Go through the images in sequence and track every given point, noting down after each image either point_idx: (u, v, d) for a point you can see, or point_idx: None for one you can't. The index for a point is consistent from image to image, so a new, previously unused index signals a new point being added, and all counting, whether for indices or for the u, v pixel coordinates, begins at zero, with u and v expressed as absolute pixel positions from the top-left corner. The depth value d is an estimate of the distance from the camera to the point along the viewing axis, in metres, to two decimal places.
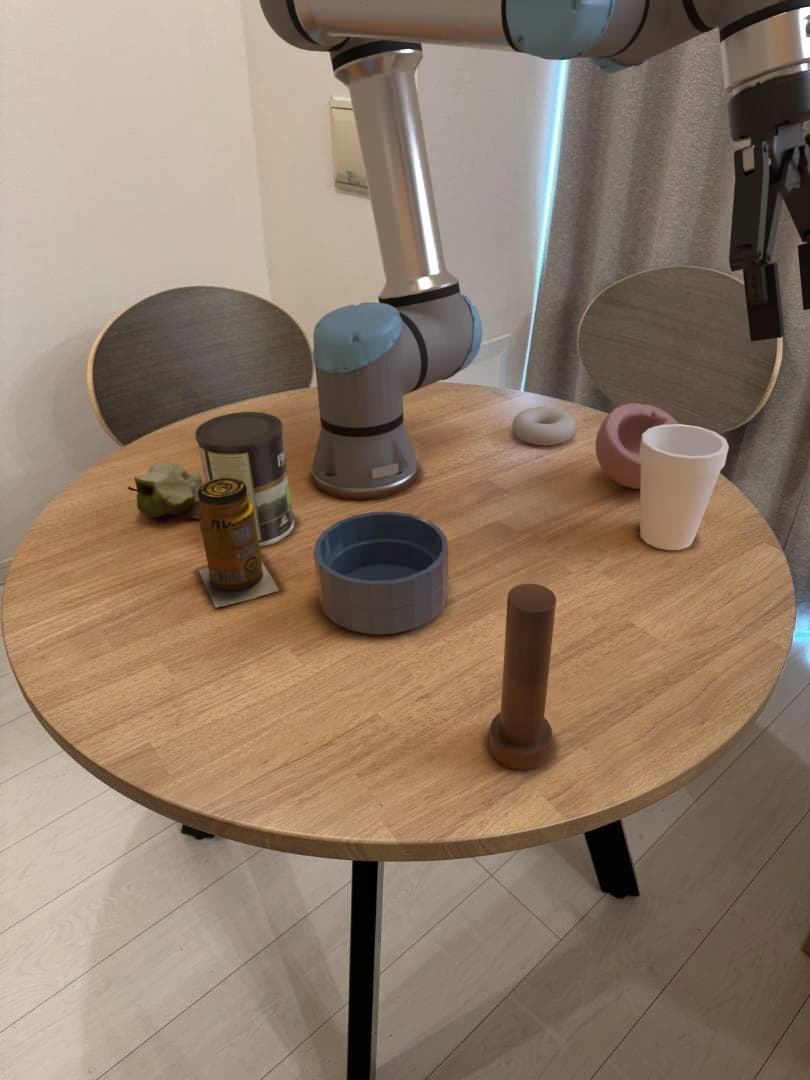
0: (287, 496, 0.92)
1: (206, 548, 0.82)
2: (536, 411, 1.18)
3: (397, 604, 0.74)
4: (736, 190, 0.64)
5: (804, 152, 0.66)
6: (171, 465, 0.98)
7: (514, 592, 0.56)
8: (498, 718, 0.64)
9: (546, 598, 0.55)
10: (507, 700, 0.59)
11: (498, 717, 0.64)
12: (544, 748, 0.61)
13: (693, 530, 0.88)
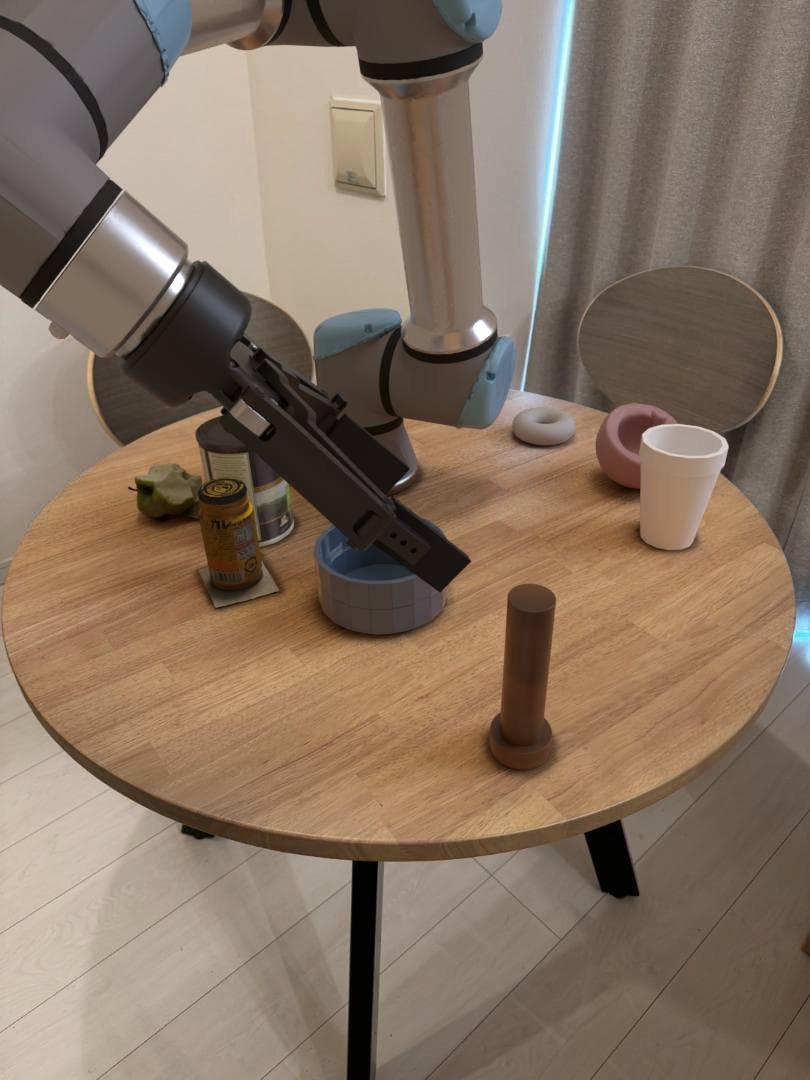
0: (287, 496, 0.92)
1: (206, 548, 0.82)
2: (536, 411, 1.18)
3: (397, 604, 0.74)
4: None
5: None
6: (171, 465, 0.98)
7: (514, 592, 0.56)
8: (498, 718, 0.64)
9: (546, 598, 0.55)
10: (507, 700, 0.59)
11: (498, 717, 0.64)
12: (544, 748, 0.61)
13: (693, 530, 0.88)
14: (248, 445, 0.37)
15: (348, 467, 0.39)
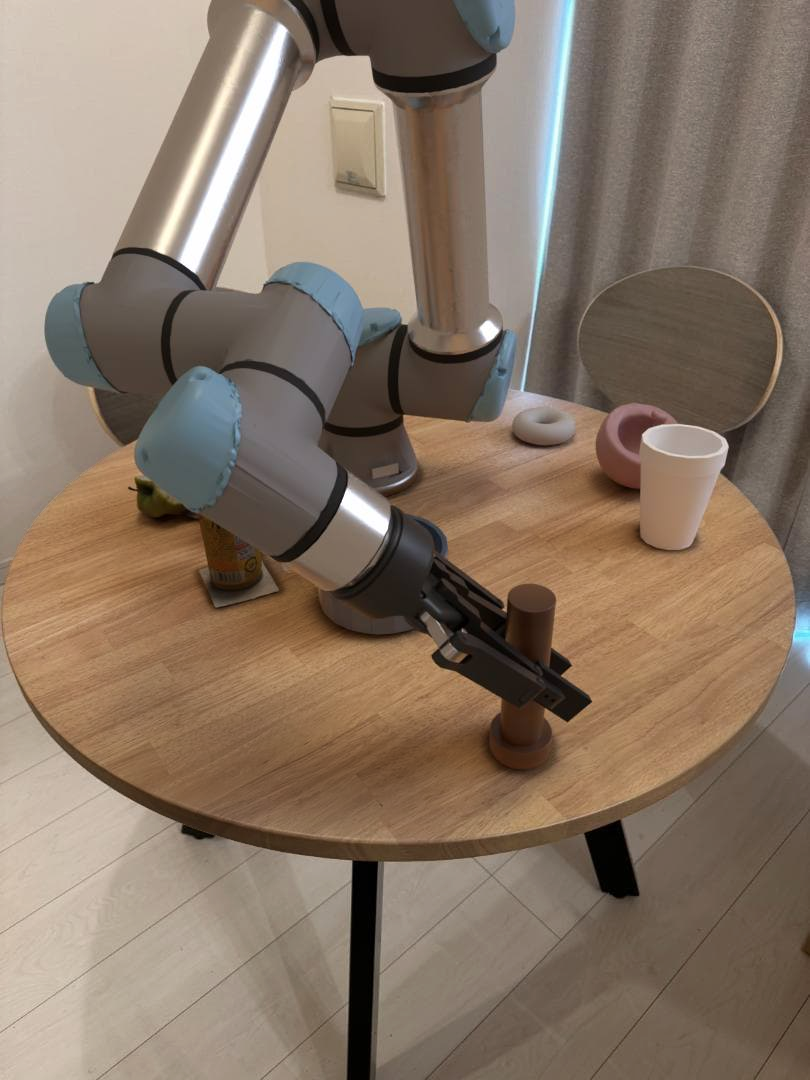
0: None
1: (206, 548, 0.82)
2: (536, 411, 1.18)
3: None
4: None
5: None
6: None
7: (514, 592, 0.56)
8: (498, 718, 0.64)
9: (546, 598, 0.55)
10: None
11: (498, 717, 0.64)
12: (544, 748, 0.61)
13: (693, 530, 0.88)
14: (453, 669, 0.49)
15: (512, 654, 0.53)
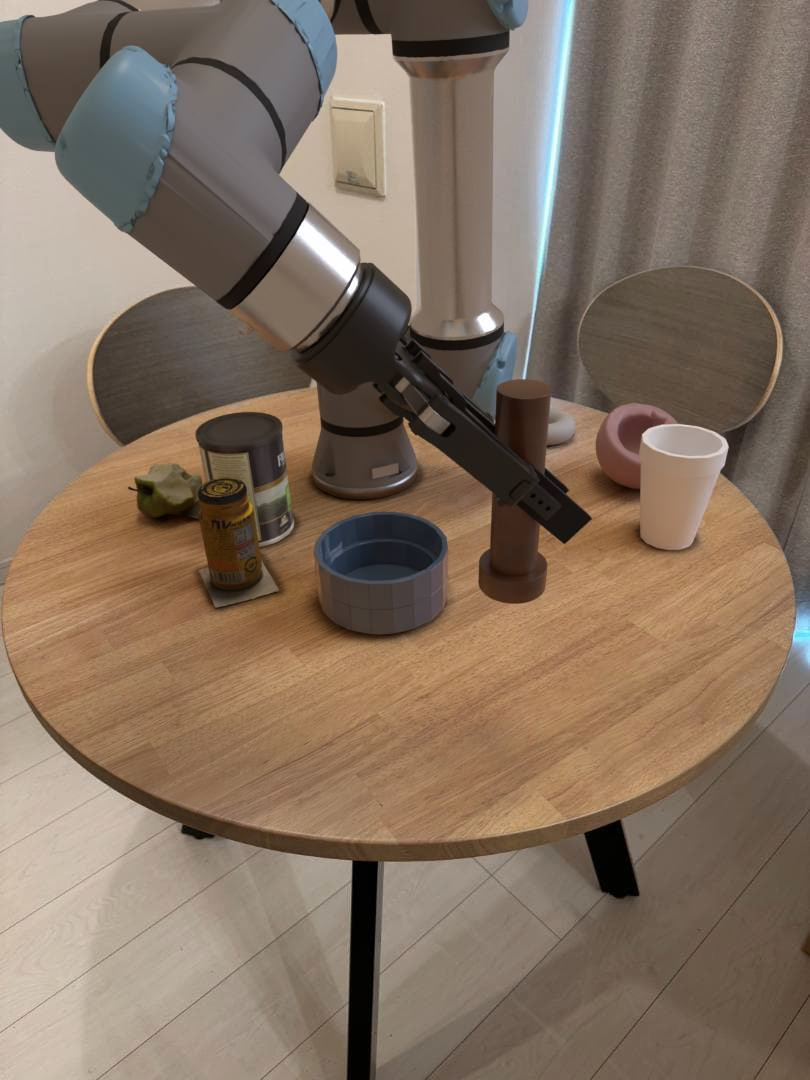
0: (287, 496, 0.92)
1: (206, 548, 0.82)
2: None
3: (397, 604, 0.74)
4: None
5: None
6: (171, 465, 0.98)
7: (504, 385, 0.50)
8: (488, 553, 0.58)
9: (540, 389, 0.49)
10: (497, 519, 0.53)
11: (488, 552, 0.58)
12: (538, 578, 0.55)
13: (693, 530, 0.88)
14: (433, 443, 0.43)
15: (501, 446, 0.47)
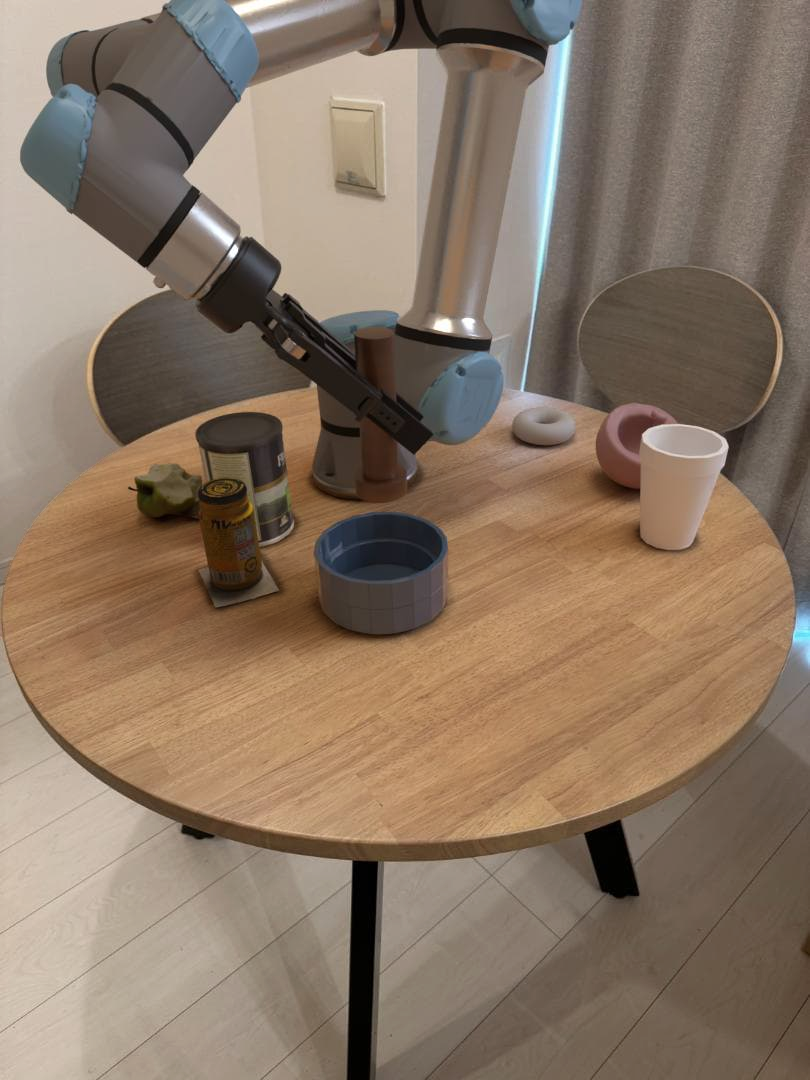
0: (287, 496, 0.92)
1: (206, 548, 0.82)
2: (536, 411, 1.18)
3: (397, 604, 0.74)
4: None
5: None
6: (171, 465, 0.98)
7: (360, 330, 0.66)
8: None
9: (385, 333, 0.66)
10: (362, 435, 0.70)
11: None
12: (397, 482, 0.72)
13: (693, 530, 0.88)
14: (294, 366, 0.60)
15: (354, 373, 0.64)
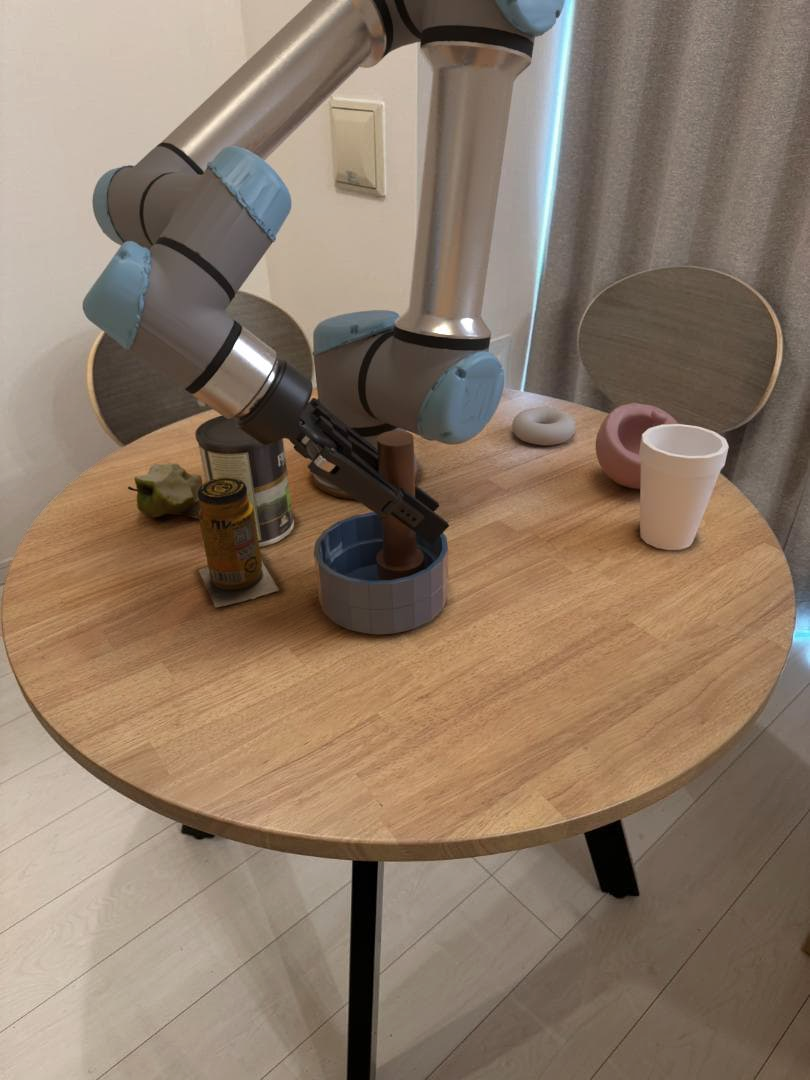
0: (287, 496, 0.92)
1: (206, 548, 0.82)
2: (536, 411, 1.18)
3: (397, 604, 0.74)
4: None
5: None
6: (171, 465, 0.98)
7: (383, 435, 0.73)
8: None
9: (406, 438, 0.72)
10: (384, 526, 0.76)
11: None
12: (415, 567, 0.78)
13: (693, 530, 0.88)
14: (325, 478, 0.66)
15: (377, 477, 0.70)
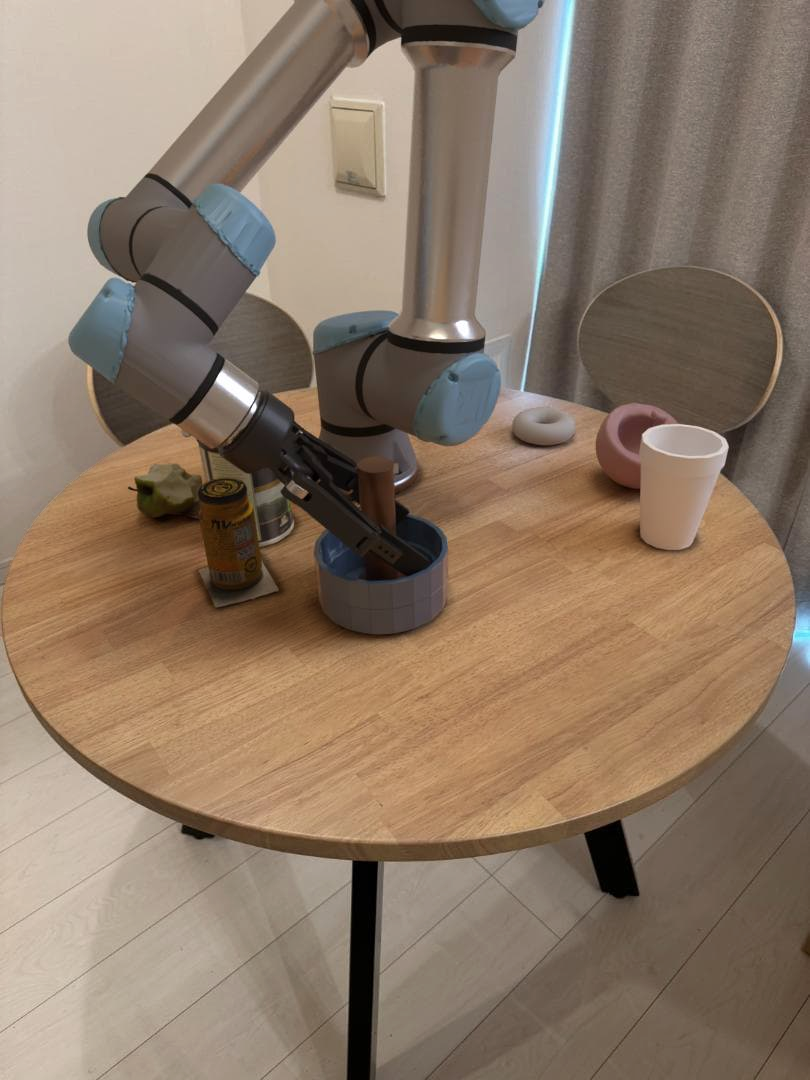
0: None
1: (206, 548, 0.82)
2: (536, 411, 1.18)
3: (397, 604, 0.74)
4: None
5: None
6: (171, 465, 0.98)
7: (363, 461, 0.74)
8: None
9: (386, 464, 0.73)
10: None
11: None
12: None
13: (693, 530, 0.88)
14: (297, 504, 0.67)
15: (354, 510, 0.70)
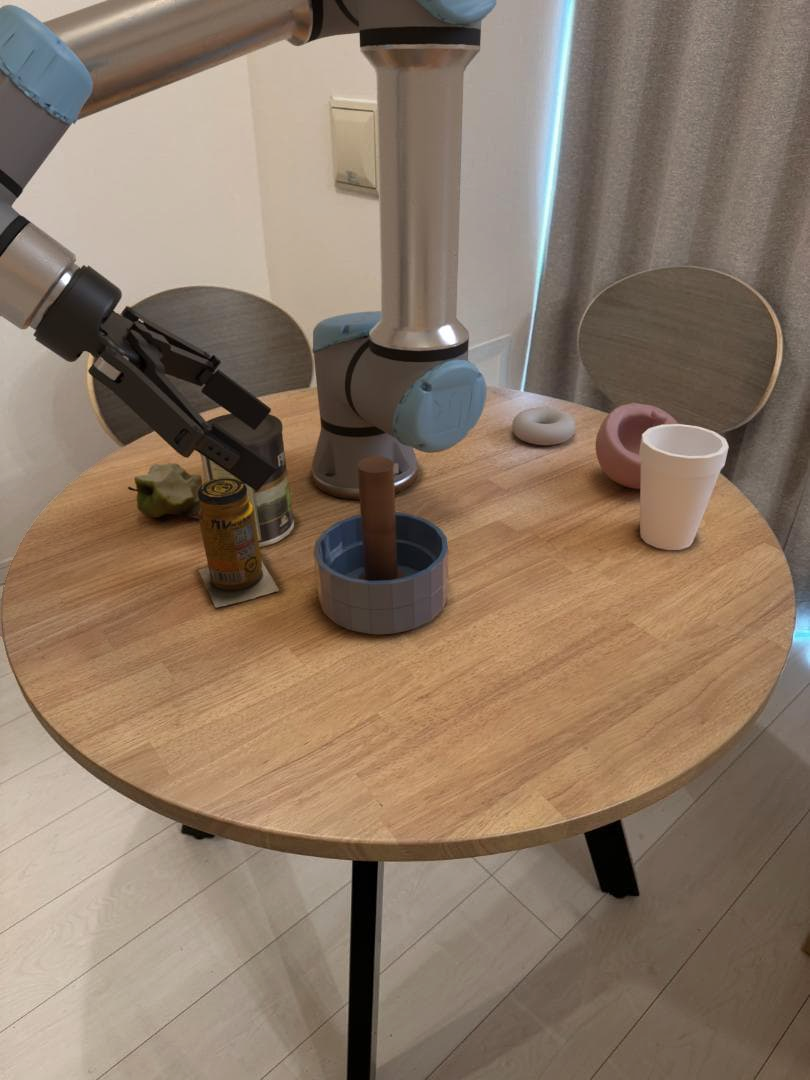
0: (287, 496, 0.92)
1: (206, 548, 0.82)
2: (536, 411, 1.18)
3: (397, 604, 0.74)
4: None
5: None
6: (171, 465, 0.98)
7: (363, 461, 0.74)
8: None
9: (386, 464, 0.73)
10: (365, 550, 0.78)
11: None
12: None
13: (693, 530, 0.88)
14: (107, 386, 0.58)
15: (179, 402, 0.60)
